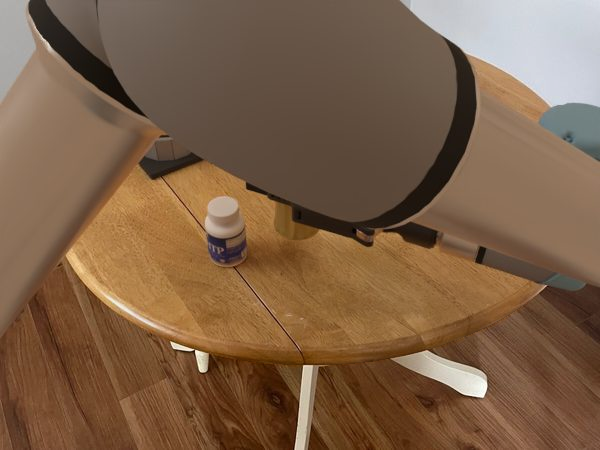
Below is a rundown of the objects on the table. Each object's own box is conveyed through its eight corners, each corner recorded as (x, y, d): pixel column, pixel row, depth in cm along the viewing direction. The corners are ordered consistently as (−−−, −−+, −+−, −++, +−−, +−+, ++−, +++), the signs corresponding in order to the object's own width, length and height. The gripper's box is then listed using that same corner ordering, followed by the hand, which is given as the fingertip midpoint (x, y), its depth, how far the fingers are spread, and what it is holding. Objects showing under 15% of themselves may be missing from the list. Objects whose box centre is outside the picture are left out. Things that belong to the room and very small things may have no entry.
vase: (304, 248, 73) (306, 154, 63) (264, 229, 75) (259, 136, 65) (329, 220, 76) (334, 127, 67) (290, 203, 79) (289, 111, 69)
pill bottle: (201, 253, 80) (193, 204, 74) (232, 235, 83) (227, 187, 77) (224, 274, 77) (218, 225, 71) (255, 255, 80) (252, 207, 74)
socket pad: (152, 180, 92) (146, 154, 89) (121, 144, 99) (115, 118, 96) (218, 154, 97) (215, 128, 94) (185, 121, 104) (181, 96, 101)
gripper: (416, 298, 61) (223, 233, 68) (458, 196, 73) (290, 150, 80) (427, 247, 56) (217, 183, 63) (470, 146, 68) (290, 102, 75)
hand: (259, 164), depth 72 cm, fingers closed on vase, 5 cm apart
